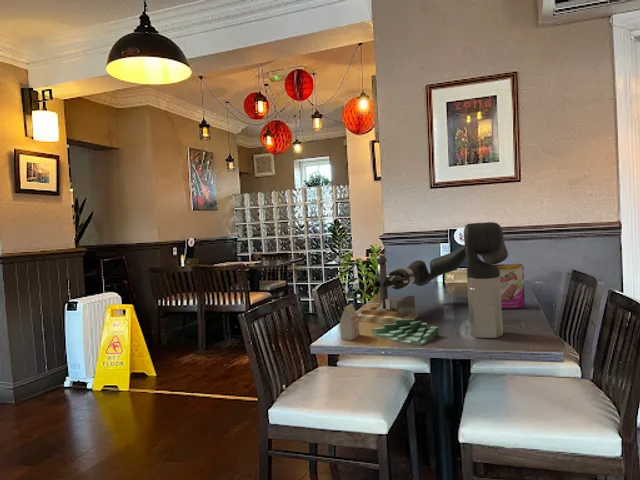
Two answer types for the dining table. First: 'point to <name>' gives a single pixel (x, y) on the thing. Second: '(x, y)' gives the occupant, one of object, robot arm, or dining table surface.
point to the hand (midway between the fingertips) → (379, 284)
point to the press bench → (385, 317)
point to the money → (407, 332)
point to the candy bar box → (512, 285)
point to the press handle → (385, 302)
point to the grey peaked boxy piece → (349, 323)
